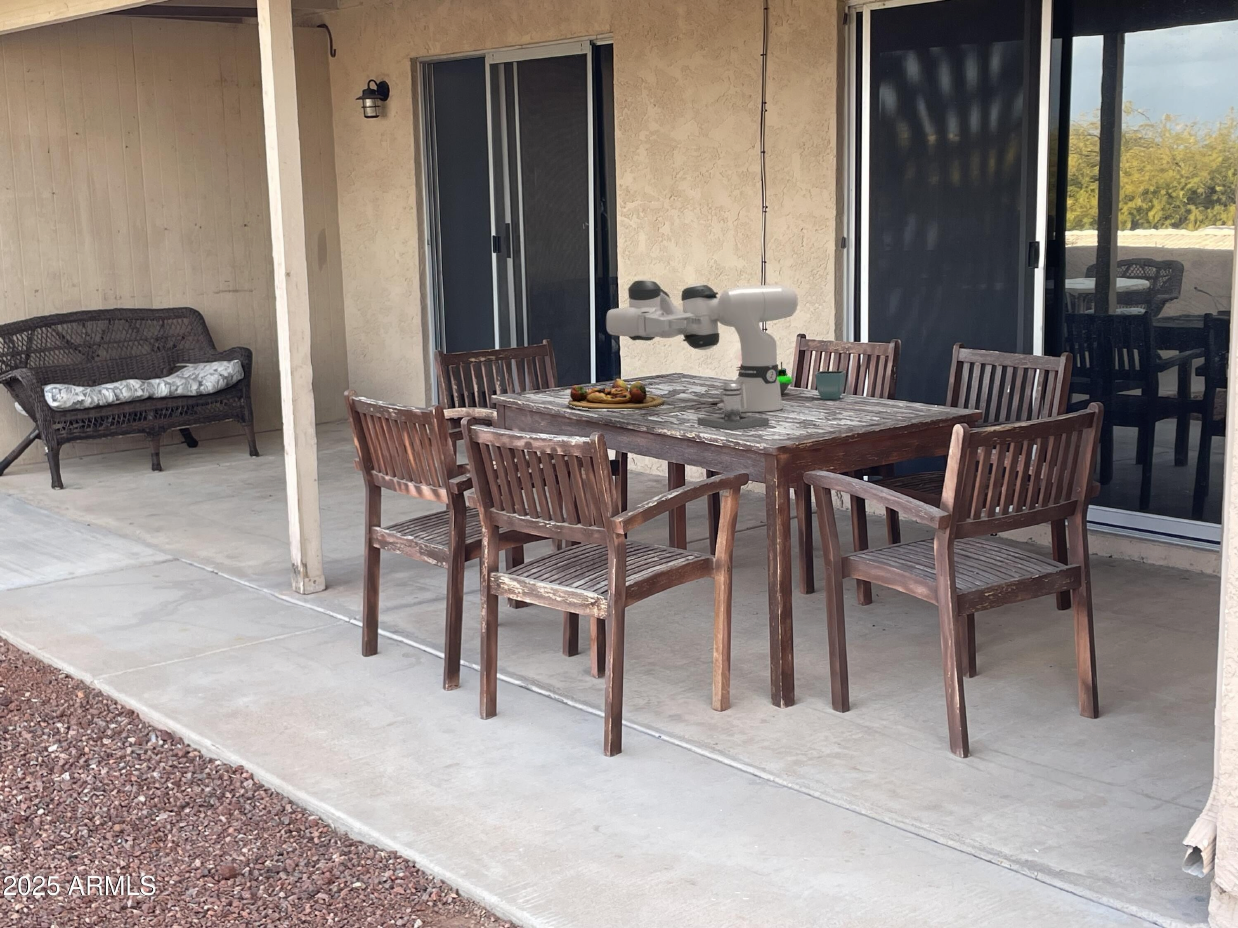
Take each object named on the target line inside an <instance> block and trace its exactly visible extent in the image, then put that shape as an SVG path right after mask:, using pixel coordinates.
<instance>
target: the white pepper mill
mask: <svg viewBox="0 0 1238 928" xmlns="http://www.w3.org/2000/svg"><path fill="white" fill-rule="evenodd" d="M722 387H723V388H722V391H723V393H722V395H723V403H724V409H723V414H724V420H738V419H741V414H742V412H741V388H740V384H738V383H733V382H730V383H729V382H727V383H723V386H722Z"/></svg>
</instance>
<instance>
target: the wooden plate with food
mask: <svg viewBox="0 0 1238 928" xmlns="http://www.w3.org/2000/svg"><path fill="white" fill-rule="evenodd" d="M567 404H569V405H572V406H575V407H582V408H588V409H642V408H649V407H655V408H658V406H659V407H661V405H662V406H663V405H664V404H665V400H664V399H663V398H662V397H659V396H656V395H648V394H647V388H646V387H645V384H643V383H642V382H640V381H639V380H636V381H635V382H633V383H632V384H631V385H630V387H629V386H628V385H627V383H626V382H625V381H624V380H622V379H620V378H616V379H615V380H614V382H613V383H612V385H611V388H604V387H603V388H595V387H594V388H590V389H588V390H587V389H586V388H584V386H581V385H573V386H572V387H571V389H570V399H569V400H568V402H567ZM569 405H568V406H569Z"/></svg>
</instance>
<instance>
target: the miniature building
mask: <svg viewBox="0 0 1238 928" xmlns="http://www.w3.org/2000/svg"><path fill="white" fill-rule="evenodd" d="M777 379H778V381H779V383H780V391H781V395H782V394H784V393H785V392H786V391H787V389H788V388H789V387H790V385H791V384H792V381H793V378H792V377H791V376H788V372H787V369H786V368H785V367H783V361H780V368H779V371H778V376H777Z"/></svg>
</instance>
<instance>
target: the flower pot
mask: <svg viewBox="0 0 1238 928" xmlns="http://www.w3.org/2000/svg"><path fill="white" fill-rule="evenodd" d="M814 376H815V384H816V390H817V394H818V395H819V397H820V398H821V400H823V401H825V400H835V401H836V400H839V399H840V398H841V396H842V394H843V391H844V388H845V382H846V370H820V371H817V372H815V373H814Z"/></svg>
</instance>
